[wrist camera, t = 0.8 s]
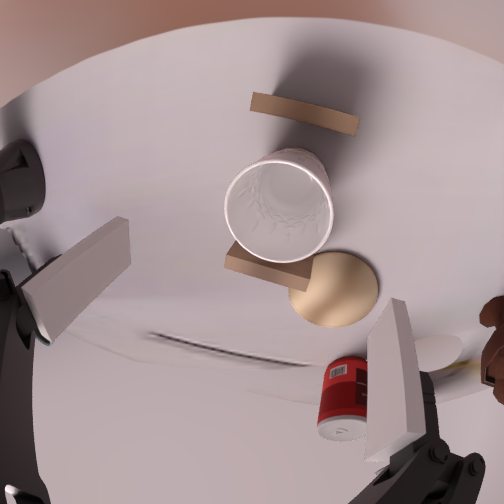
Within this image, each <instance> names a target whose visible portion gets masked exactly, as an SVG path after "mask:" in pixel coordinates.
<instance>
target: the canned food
mask: <svg viewBox="0 0 504 504" xmlns="http://www.w3.org/2000/svg"><path fill="white" fill-rule="evenodd" d="M367 398H368V362H367V361H366V360H364V359H361V358H357V357H346V358H341V359H338V360H336V361H334V362H333V363H331V364H330V365H329V366H328V368H327V370H326V372H325V375H324V381H323V389H322V396H321V403H320V410H319V416H318V424H317V433H318V435H319V436H321V437H322V438H325V439H327V440H332V441H352V440H357V439H360V438H363V437H365V436H366V426H367Z"/></svg>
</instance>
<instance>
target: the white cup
mask: <svg viewBox="0 0 504 504" xmlns="http://www.w3.org/2000/svg"><path fill="white" fill-rule="evenodd" d="M224 211H225V218H226V222H227V225H228V227H229V229H230V231H231V233H232V235H233V236H234V238H235V239H236V240H237V242H238V243H239V244H240V245H241V246H242V247H243V248H244V249H246V250H247V251H248V252H250V253H251V254H253V255H255V256H257V257H259V258H261V259H264V260H267V261H271V262H278V263H289V262H295V261H299V260H302V259H305V258H307V257H309V256H311V255H312V254H314V253H315V252H316V251H317V250H319V249H320V248H321V247H322V245H323V244H324V243H325V242H326V240H327V238H328V237H329V235H330V232H331V230H332V226H333V220H334V209H333V202H332V194H331V187H330V183H329V179H328V176H327V173H326V171H325V167H324V165H323V163H322V162H321V161H320V160H319V159H318V158H317V157H316V155H315V154H314V153H311V152H309V151H307V150H304V149H302V148H284V149H282V150H279V151H276V152H273V153H271V154H269V155H267V156H265V157H263V158H261V159H260V160H258V161H256V162H255V163H253V164H251V165H249V166H248V167H246V168H245V169H243V170H242V171H241V172H240V173H239V174H238V175H237V176H236V177H235V178H234V179H233V181H232V182H231V184H230V186H229V188H228V190H227V193H226V197H225V204H224Z"/></svg>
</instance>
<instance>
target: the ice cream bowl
mask: <svg viewBox="0 0 504 504" xmlns="http://www.w3.org/2000/svg"><path fill="white" fill-rule="evenodd" d="M479 316H480V323H481V324H482V325H484V326H485V327H487V328H488V327H492V326H495V327H496V330H495V331H494V333H493V335H492V336H491V338H490V339H489V341H488V342H487V344H486V346H485V348H484V350H483V352H482V358H481V383H482V384H485V385H488V386H491V387H494V390H493V394H494V396H495V398H496V399H497V400H498V402H500V403H501V404H503V405H504V297H503V296H500V297H496V298H493V299H492V300H490V301H489V302H488V303H487V304H486V305H484V307H483V309H482V311H481V313H480V315H479Z"/></svg>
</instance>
